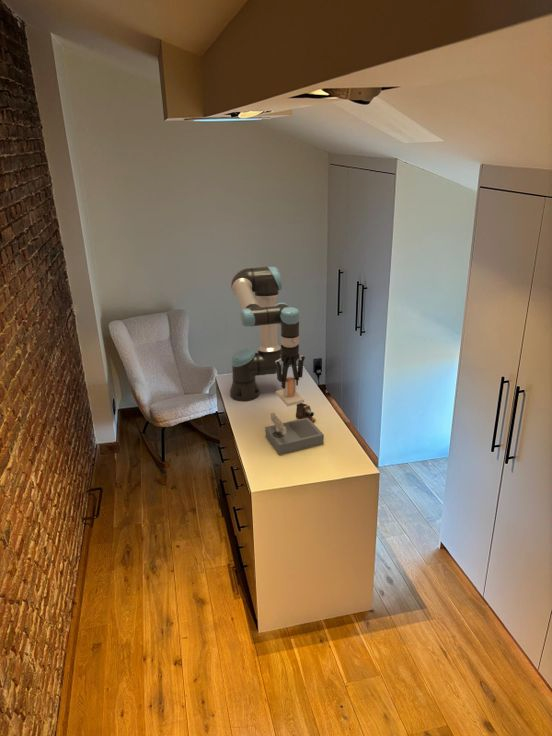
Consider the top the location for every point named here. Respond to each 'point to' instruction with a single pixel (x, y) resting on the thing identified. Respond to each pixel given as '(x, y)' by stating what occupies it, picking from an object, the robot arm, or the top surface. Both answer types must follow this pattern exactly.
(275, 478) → the top surface
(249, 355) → the robot arm
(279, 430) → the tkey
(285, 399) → the cover
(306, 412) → the electronic device
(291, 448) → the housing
